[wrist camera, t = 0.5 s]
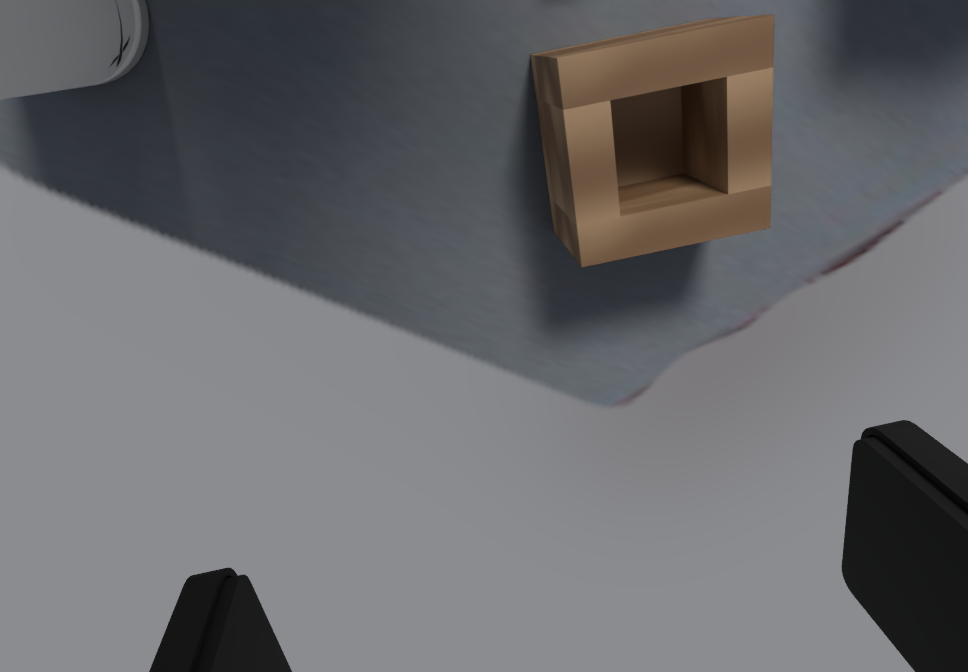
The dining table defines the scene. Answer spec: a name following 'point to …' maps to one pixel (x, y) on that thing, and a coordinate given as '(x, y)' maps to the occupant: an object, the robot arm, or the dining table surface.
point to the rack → (658, 137)
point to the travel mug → (68, 43)
